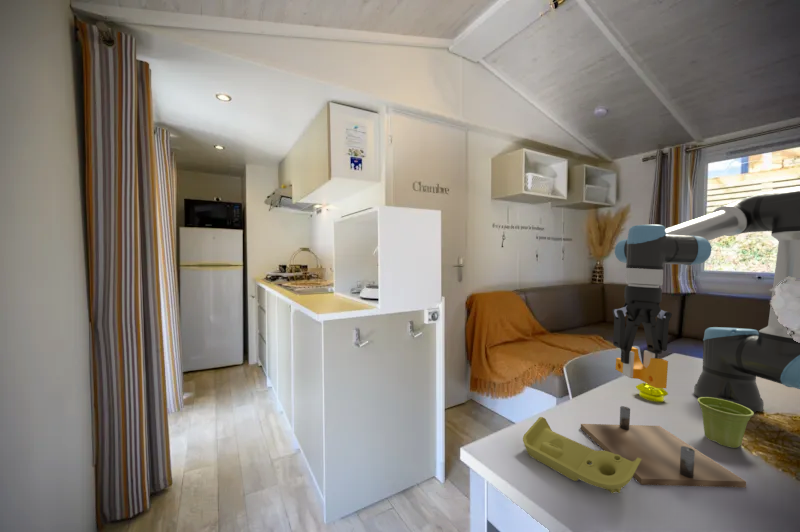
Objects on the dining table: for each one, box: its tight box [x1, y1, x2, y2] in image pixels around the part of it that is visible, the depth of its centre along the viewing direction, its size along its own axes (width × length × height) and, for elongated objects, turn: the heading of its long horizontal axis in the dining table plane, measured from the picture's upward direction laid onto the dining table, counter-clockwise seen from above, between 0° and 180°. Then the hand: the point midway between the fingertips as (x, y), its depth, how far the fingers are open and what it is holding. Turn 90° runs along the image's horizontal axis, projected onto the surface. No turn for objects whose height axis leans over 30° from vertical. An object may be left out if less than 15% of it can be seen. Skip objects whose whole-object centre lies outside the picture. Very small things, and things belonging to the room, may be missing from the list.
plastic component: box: [522, 416, 642, 494], centre depth 63 cm, size 20×8×10 cm
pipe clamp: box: [615, 346, 669, 389], centre depth 80 cm, size 12×4×6 cm, turn 177°
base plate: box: [580, 423, 747, 488], centre depth 70 cm, size 20×20×1 cm
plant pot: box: [697, 397, 755, 449], centre depth 76 cm, size 9×9×9 cm
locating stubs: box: [619, 405, 695, 478], centre depth 70 cm, size 2×19×5 cm, turn 0°
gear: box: [635, 382, 669, 403], centre depth 100 cm, size 8×4×8 cm
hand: (637, 376), depth 81 cm, fingers closed on pipe clamp, 4 cm apart
